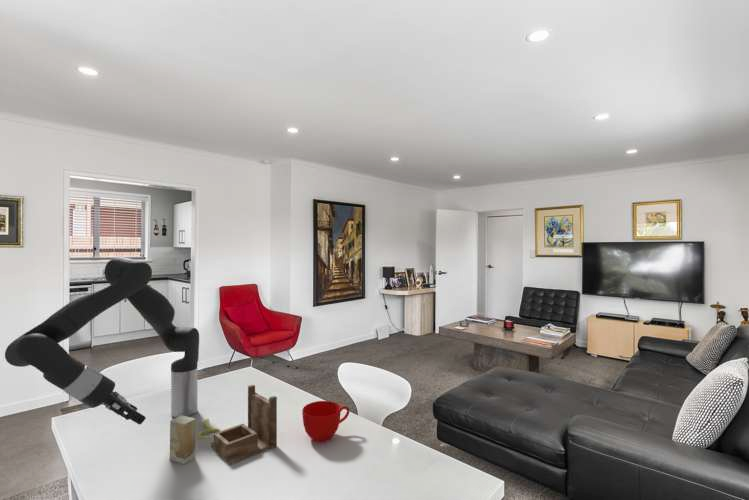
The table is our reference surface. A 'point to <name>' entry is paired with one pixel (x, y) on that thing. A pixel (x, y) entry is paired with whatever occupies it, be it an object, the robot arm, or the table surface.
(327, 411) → the ceramic cup
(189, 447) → the skincare box
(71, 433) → the table surface
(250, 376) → the table surface
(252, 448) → the headboard stand
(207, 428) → the key
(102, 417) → the table surface
